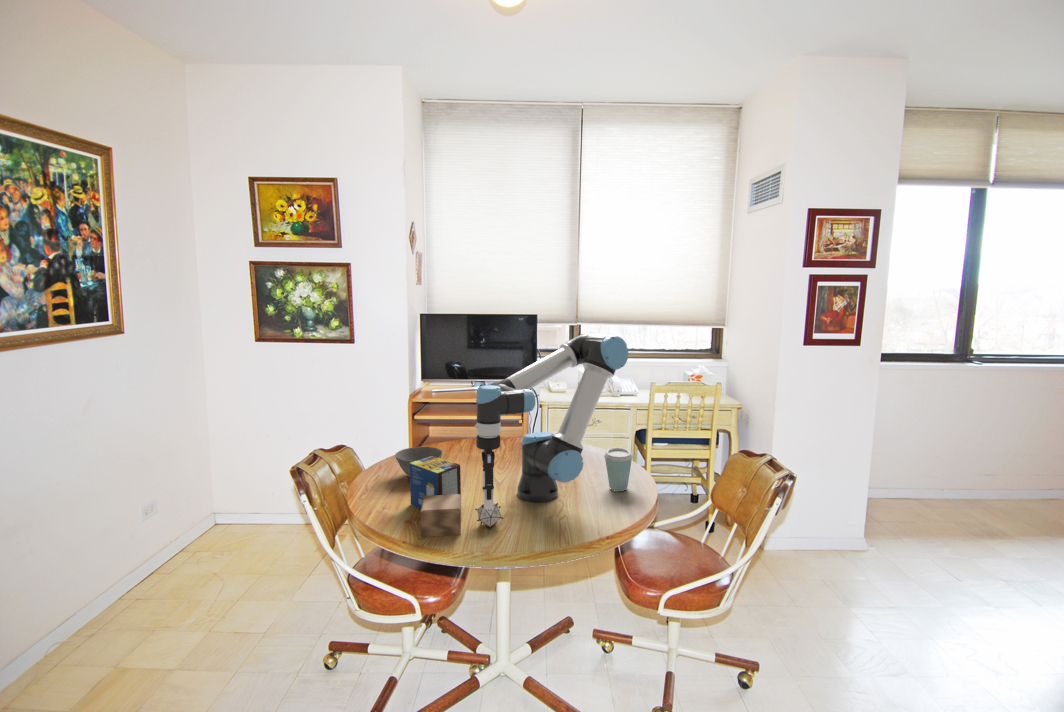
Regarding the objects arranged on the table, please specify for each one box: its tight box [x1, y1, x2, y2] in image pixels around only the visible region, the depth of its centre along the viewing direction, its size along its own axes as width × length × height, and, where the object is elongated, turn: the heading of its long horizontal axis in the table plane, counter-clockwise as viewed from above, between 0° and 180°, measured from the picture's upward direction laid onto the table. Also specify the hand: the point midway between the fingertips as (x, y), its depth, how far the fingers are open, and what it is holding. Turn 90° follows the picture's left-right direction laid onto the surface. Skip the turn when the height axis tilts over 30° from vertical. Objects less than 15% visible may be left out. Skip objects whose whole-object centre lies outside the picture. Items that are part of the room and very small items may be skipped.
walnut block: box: [420, 493, 462, 538], centre depth 158 cm, size 12×12×8 cm
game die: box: [474, 502, 504, 531], centre depth 159 cm, size 9×8×10 cm
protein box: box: [409, 456, 462, 510], centre depth 173 cm, size 10×15×16 cm
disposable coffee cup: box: [603, 447, 633, 492], centre depth 189 cm, size 11×11×15 cm
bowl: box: [394, 446, 444, 478], centre depth 201 cm, size 19×19×10 cm
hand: (487, 499), depth 158 cm, fingers open, 13 cm apart
